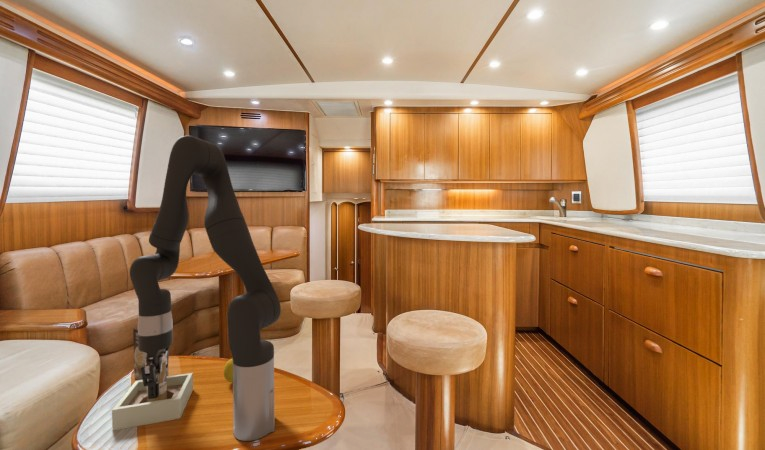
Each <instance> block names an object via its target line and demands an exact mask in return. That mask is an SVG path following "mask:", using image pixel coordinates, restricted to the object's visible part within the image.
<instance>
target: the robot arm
mask: <svg viewBox="0 0 765 450" xmlns="http://www.w3.org/2000/svg"><path fill="white" fill-rule="evenodd" d="M169 153H170V154H169V158H168V163H167V170H166V174H165V179H164V185H163V186H164V187H163V192H162V198H161V202H160V206H159V209H158V213H157V215H156V217H155V221H154V223H153V226H152V228H151V230H150V231H151V232H150V233H149V234H150V235H149V236H148V243H149V245H151V246H152V247H154V248H156V251H155V253H154V254H148V255H142V256H139V257H137V258H135V259H134V260H133V262H132V263H131V265H130V268H129V278H130V281H131V284H132V287H133V289H134V291H135V294H136V297H137V300H138V320H137V327H138V349H139V351H141V352H145V353H147V357H145V364H146V366H142V367H141V373H142V379H143V385H144V386H148V398H149V399H153V398H157V397H158V396H159V375H160V373H161V372H162V362H163V361H164V355H161V354H162V353H166V368H168V369H169V357H170V346H172V345H173V343H174V328H173V327H174V325H173V323H174V322H173V313H172V297H171V292H170V290H168V289H167V288H160V286H159V281H162V280H166V279H169V278H170V277H172V276H173V275H174V274H175V273H176V271H177V269H178V267H179V262H180V252H181V251H180V250H181V243H182V241H183V238H184V235H185V234H186V233H185V232H186V230H187V227H188V225H189V219H190V215H189V214H190V213H189V207H188V200H187V190H188V184H189V182H190V179H191V177H192V176H194V175H195V176H199V177H200V178H201V180H202V181H203V184H204V187H205V190H206V191H207V198H208V201H207V206H206V210H205V212H204V213H205V214H204V223H203V224H204V228H205V232H206V235H207V237H208V239H209V243H210V245H211V248H212V250H213V251H214V253H215V254H216V255H217V256H218V257H219V258H221V260H222V261H223V262H225V264H227V266H229V267H230V268H231V269H232V270H233V271H234V272H235V273H236V274H237V275H238V277H239V278H240V280H241V281H242V283H243V286H244V288H245V291H246V293H242V294H240V295H237V296H235V297H234V298H233V299H231V301H230V302H229V305H228V308H227V320H226V321H227V332H228V333H227V334H228V345H229V350H230V353H231V356H232V358H233V383H232V403H233V405H232V408H233V409H232V411H233V417H232V418H233V425H232V426H233V436H234V437H235V438H236V439H238V440H239V441H244V442H248V441H256V440H259V439H261V438H263V437H265V436H267V435H268V434H271V433H273V432H275V429H276V427H275V420H276V419H275V347H274V346H275V345H274V344H273V343H272V342H271V341H269V340H265V339H261V330H262V329H265V328H267V327H269V326H271V325H273V324H275V323H276V322H277V321H278V320H279V319H280V316H281V311H282V308H281V303H280V299H279V297H278V295H277V292H276V290H275V288H274V286H273V284H272V282H271V280H270V278H269V276H268V274H267V273H266V270H265V268H264V266H263V263H262V262H261V258H260V256H259V254H258V251H257V249H256V246H255V244H254V242H253V239H252V238H253V237H252V235H251V233H250V230H249V227H248V225H247V222H246V220H245V216H244V215H243V214H244V213H243V212H242V210H241V207H240V204H239V201H238V197H237V196H236V193H235V190H234V188H233V187H234V186H233V184H232V180H231V177H230V172H229V168H228V164H227V161H226V158H225V155H224V152H223V151H222V149H221V148H220V147H219V146H218V145H216V144H214V143H212V142H209V141H207V140H204V139H201V138H199V137H196V136H193V135H182V136H180V137H178V139H176V141H175V142H174V144H173V145H172V147H171V150H170V152H169ZM155 369H158V371H155ZM150 379H152V380H150Z"/></svg>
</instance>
